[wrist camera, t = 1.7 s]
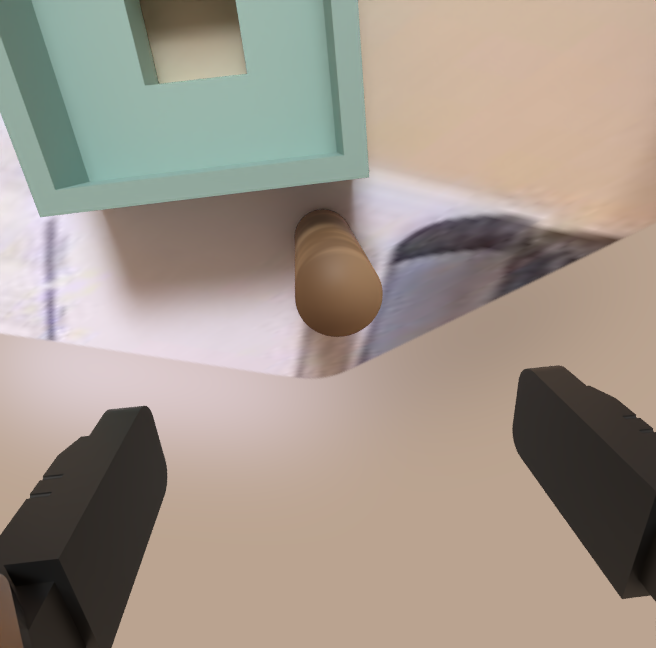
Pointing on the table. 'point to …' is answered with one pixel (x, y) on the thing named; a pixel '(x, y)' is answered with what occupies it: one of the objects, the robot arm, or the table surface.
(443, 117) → the table surface
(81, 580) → the robot arm
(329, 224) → the walnut peg
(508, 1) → the table surface
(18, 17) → the bore box
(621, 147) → the table surface
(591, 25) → the table surface
